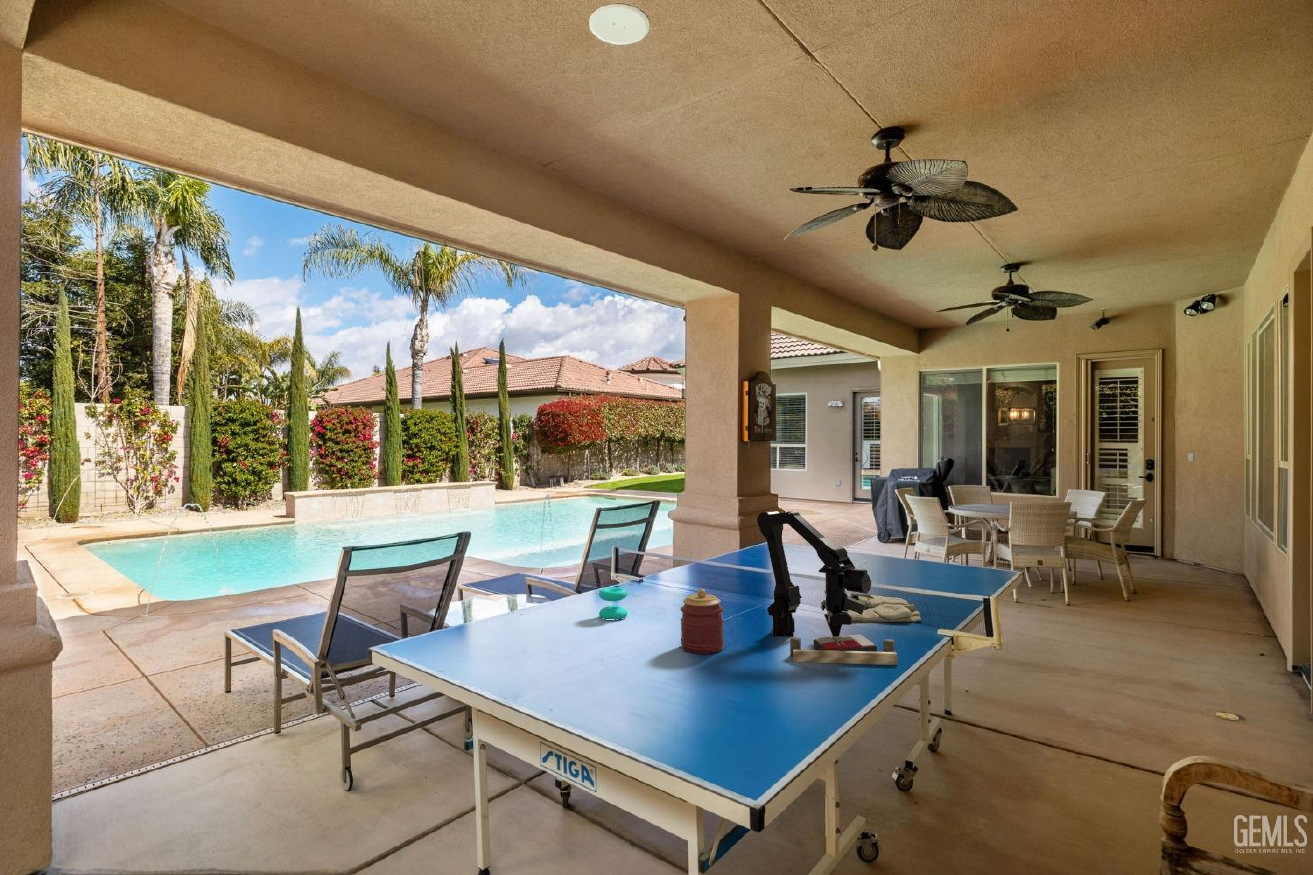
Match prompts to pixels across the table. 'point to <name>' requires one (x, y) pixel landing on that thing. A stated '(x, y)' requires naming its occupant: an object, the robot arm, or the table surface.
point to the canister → (702, 624)
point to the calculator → (844, 643)
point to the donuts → (613, 595)
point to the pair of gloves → (885, 610)
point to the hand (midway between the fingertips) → (836, 640)
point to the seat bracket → (844, 654)
